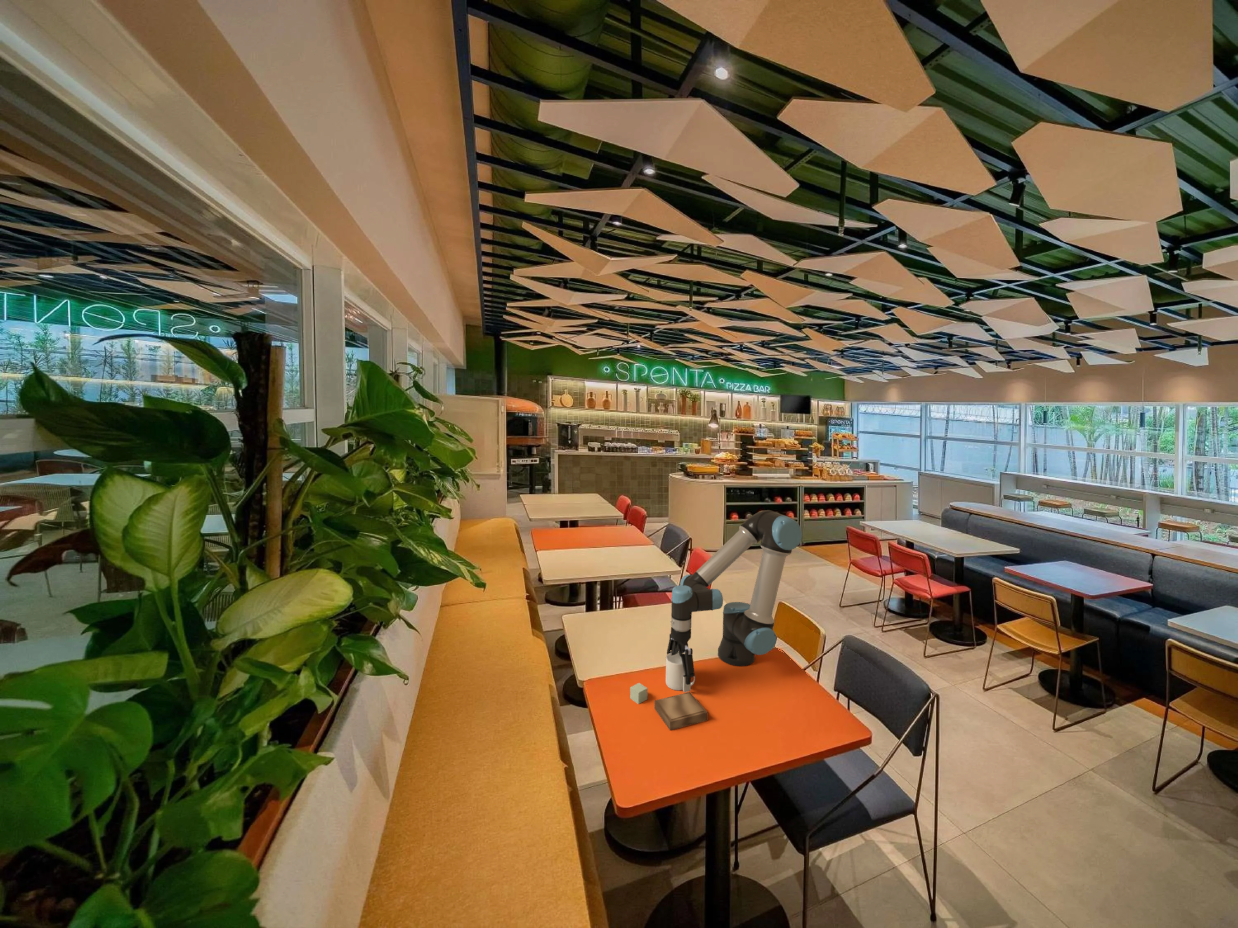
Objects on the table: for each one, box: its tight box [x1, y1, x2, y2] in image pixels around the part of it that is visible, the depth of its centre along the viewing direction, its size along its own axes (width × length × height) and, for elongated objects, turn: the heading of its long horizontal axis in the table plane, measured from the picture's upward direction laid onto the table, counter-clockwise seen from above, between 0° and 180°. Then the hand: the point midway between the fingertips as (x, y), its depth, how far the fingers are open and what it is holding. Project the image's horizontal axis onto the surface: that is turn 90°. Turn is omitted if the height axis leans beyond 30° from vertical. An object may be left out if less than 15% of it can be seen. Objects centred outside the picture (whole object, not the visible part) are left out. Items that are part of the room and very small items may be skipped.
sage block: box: [629, 682, 648, 705], centre depth 169 cm, size 4×4×4 cm
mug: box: [665, 651, 696, 691], centre depth 176 cm, size 9×12×11 cm
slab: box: [654, 691, 708, 731], centre depth 160 cm, size 14×12×3 cm
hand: (679, 682), depth 177 cm, fingers closed on mug, 10 cm apart
